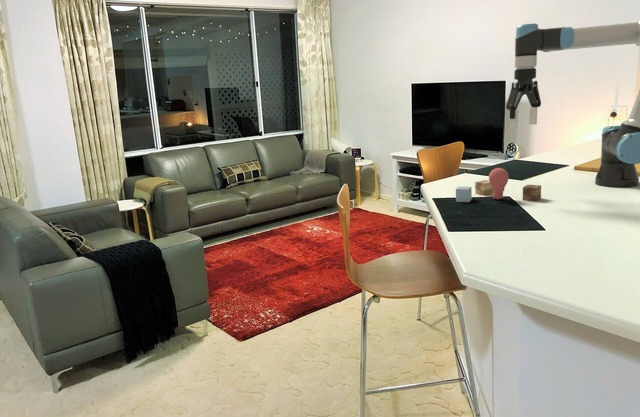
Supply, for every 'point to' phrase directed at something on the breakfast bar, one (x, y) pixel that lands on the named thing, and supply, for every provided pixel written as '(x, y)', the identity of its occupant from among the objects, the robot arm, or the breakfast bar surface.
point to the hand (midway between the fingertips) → (523, 126)
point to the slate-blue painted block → (463, 194)
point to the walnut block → (532, 192)
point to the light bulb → (498, 181)
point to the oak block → (483, 187)
